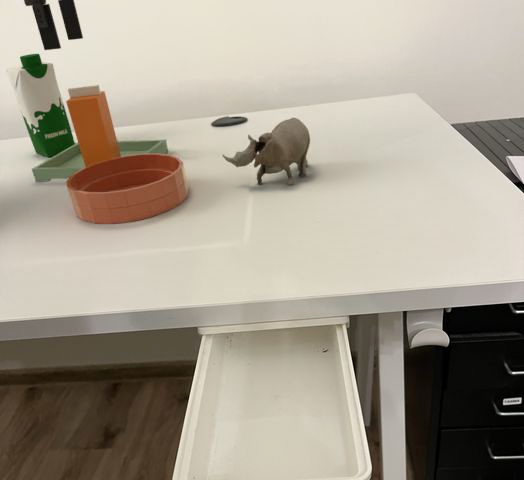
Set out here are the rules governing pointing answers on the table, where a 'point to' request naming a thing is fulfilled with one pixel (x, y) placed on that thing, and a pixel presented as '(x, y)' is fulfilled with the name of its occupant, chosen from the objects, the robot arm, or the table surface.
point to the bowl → (128, 188)
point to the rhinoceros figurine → (277, 150)
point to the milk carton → (41, 105)
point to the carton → (92, 124)
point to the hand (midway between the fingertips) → (65, 44)
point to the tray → (73, 160)
